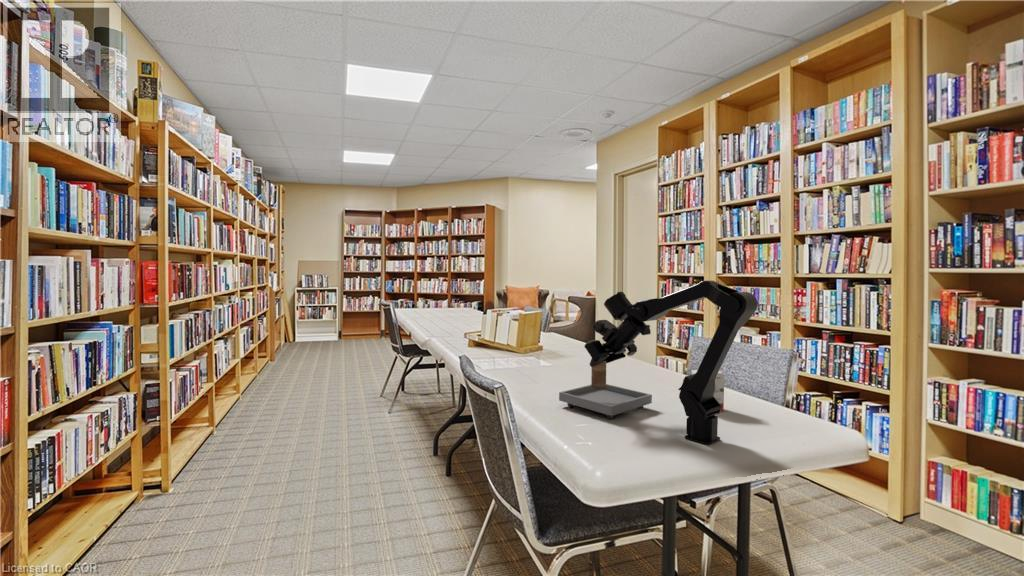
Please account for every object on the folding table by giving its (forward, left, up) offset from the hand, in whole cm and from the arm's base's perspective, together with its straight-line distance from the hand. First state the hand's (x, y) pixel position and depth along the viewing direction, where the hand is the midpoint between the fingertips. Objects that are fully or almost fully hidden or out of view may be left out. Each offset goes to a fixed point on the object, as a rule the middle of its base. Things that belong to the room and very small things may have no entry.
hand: (595, 364), depth 147 cm
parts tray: (-2, -3, -13) cm, 14 cm away
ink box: (-23, -26, -14) cm, 37 cm away
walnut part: (-1, 0, -7) cm, 7 cm away
